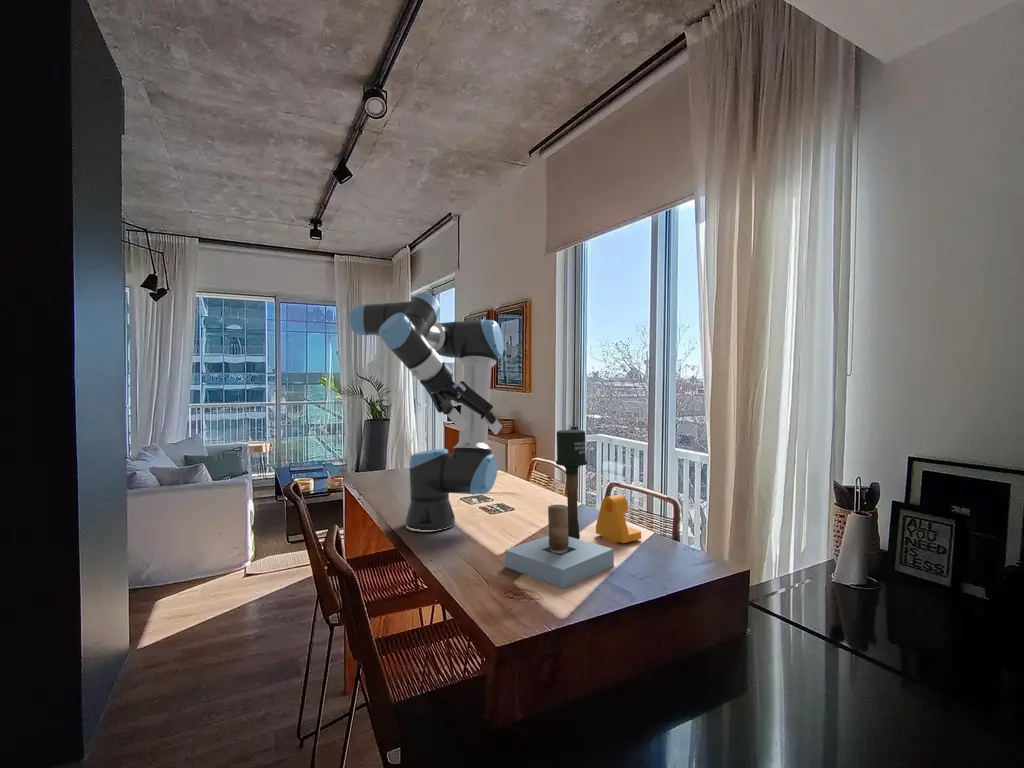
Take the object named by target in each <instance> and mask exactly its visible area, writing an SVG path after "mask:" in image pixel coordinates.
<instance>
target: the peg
mask: <svg viewBox="0 0 1024 768" xmlns="http://www.w3.org/2000/svg"><path fill="white" fill-rule="evenodd" d="M547 513H548V514H547V518H548V520H547V521H548V536H549V546H550V547H551V553H554V554H557V555H560V556H561V555H564V554H566V553H567V547H568V546H569V542H568V505H564V504H551V505H549V506H547Z"/></svg>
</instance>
